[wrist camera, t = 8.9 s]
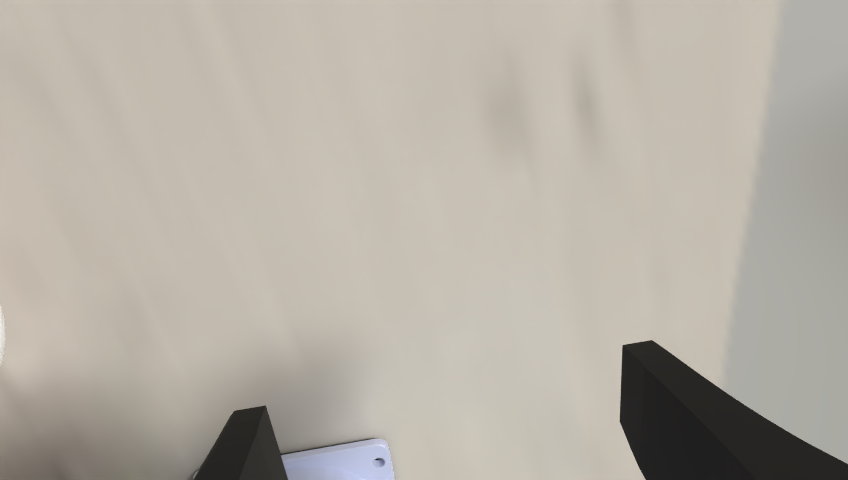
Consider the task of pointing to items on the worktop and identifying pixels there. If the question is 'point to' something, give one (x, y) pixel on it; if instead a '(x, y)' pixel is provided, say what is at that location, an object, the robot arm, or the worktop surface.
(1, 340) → the white round dish
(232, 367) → the worktop surface
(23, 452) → the worktop surface
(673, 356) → the robot arm
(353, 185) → the worktop surface
